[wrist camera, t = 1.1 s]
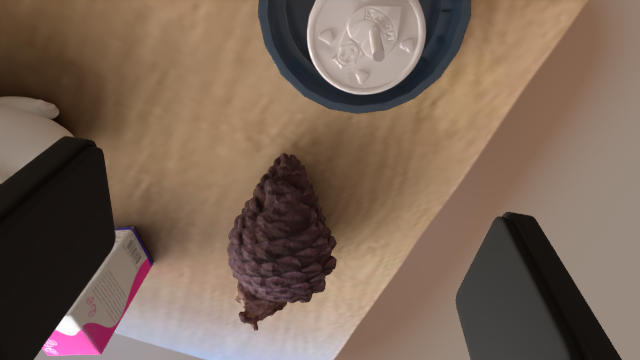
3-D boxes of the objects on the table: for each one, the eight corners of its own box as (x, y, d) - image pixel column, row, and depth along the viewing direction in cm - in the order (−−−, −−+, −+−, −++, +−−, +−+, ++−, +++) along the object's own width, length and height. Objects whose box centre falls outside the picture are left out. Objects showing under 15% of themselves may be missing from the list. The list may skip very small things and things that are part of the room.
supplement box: (84, 229, 44) (10, 317, 34) (134, 225, 43) (73, 313, 34) (107, 268, 47) (46, 358, 38) (155, 264, 46) (105, 355, 37)
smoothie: (424, 7, 30) (472, 69, 18) (356, 66, 32) (359, 153, 20) (367, -69, 27) (380, -54, 16) (299, 1, 30) (266, 59, 18)
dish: (278, -129, 26) (267, -135, 22) (486, -90, 26) (507, -90, 23) (262, 77, 33) (252, 96, 30) (424, 104, 34) (433, 126, 30)
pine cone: (223, 137, 37) (265, 175, 29) (319, 141, 42) (376, 174, 34) (207, 303, 42) (238, 374, 34) (293, 288, 47) (338, 347, 39)
